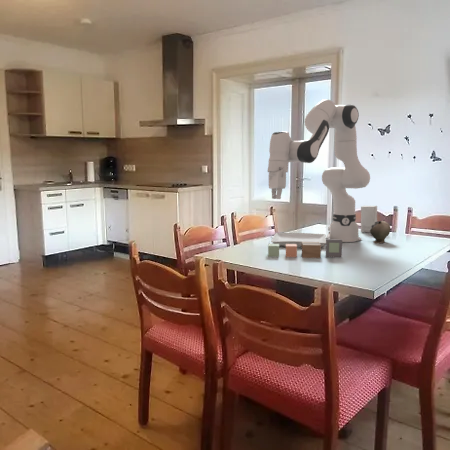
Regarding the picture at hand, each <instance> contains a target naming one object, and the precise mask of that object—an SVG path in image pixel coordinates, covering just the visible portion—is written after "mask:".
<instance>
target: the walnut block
mask: <svg viewBox="0 0 450 450" xmlns="http://www.w3.org/2000/svg"><path fill="white" fill-rule="evenodd" d="M321 252H322V247H321V244H320V242H302V247H301V257H302V258H304V259H322V255H321V254H322V253H321Z"/></svg>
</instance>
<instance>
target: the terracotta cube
mask: <svg viewBox="0 0 450 450" xmlns="http://www.w3.org/2000/svg"><path fill="white" fill-rule="evenodd" d="M285 257H286V258H287V257H289V258H297V257H298V247H297V244H286V247H285Z"/></svg>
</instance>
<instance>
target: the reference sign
mask: <svg viewBox="0 0 450 450" xmlns="http://www.w3.org/2000/svg"><path fill="white" fill-rule="evenodd" d="M342 257H343V242H342V240H330V239H326V244H325V258H342Z"/></svg>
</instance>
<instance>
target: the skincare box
mask: <svg viewBox="0 0 450 450" xmlns="http://www.w3.org/2000/svg"><path fill="white" fill-rule="evenodd" d="M377 221H378V206H377V205H362V206H360V232H361V233H369V234H371V233H370V230H371V228H372V227H371V226H372V225H374V224H375V222H377Z"/></svg>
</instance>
